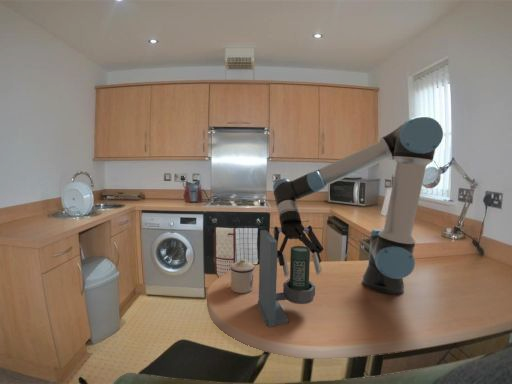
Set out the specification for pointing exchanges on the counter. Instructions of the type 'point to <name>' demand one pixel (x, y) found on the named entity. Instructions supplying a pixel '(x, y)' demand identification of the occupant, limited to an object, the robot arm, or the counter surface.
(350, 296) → the counter surface
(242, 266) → the teacup with lid
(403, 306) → the counter surface
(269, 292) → the cup bracket
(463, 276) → the counter surface
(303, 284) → the can
